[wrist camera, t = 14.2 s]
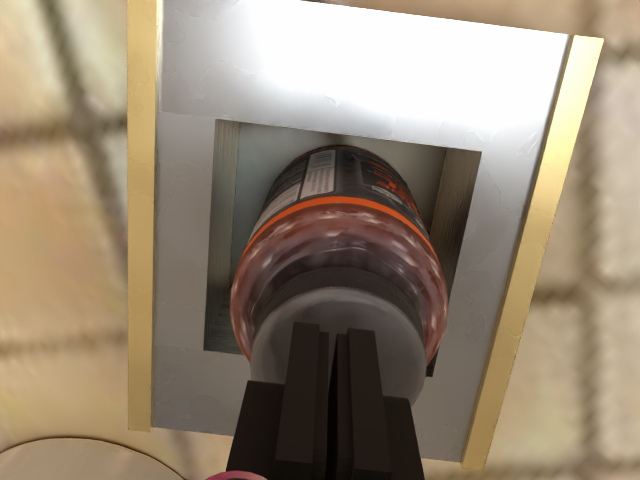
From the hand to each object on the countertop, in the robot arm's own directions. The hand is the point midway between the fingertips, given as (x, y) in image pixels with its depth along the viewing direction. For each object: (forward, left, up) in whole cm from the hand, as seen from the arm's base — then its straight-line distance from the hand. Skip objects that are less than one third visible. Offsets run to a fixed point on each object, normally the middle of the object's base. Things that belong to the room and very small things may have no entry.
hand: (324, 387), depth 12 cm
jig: (0, 0, -12) cm, 12 cm away
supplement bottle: (0, 0, -12) cm, 12 cm away
